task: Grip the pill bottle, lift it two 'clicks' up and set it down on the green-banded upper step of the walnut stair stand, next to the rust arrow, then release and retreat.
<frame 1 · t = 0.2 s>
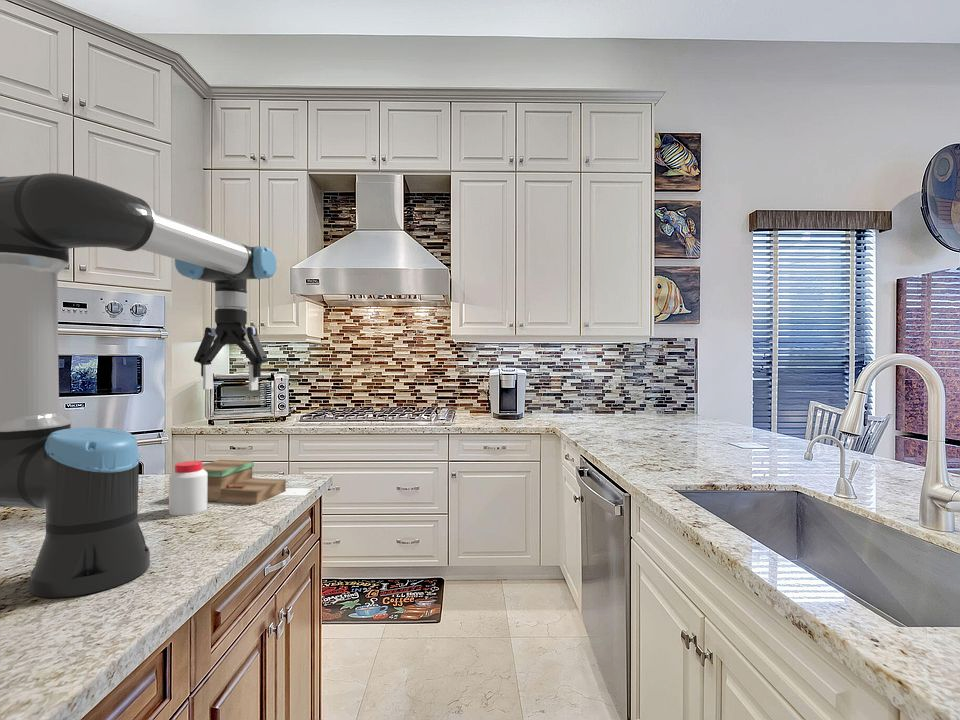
hand: (230, 389, 129), 27 cm above the countertop, fingers open, 13 cm apart
stand: (237, 494, 127), on the countertop
pill bottle: (188, 511, 114), on the countertop
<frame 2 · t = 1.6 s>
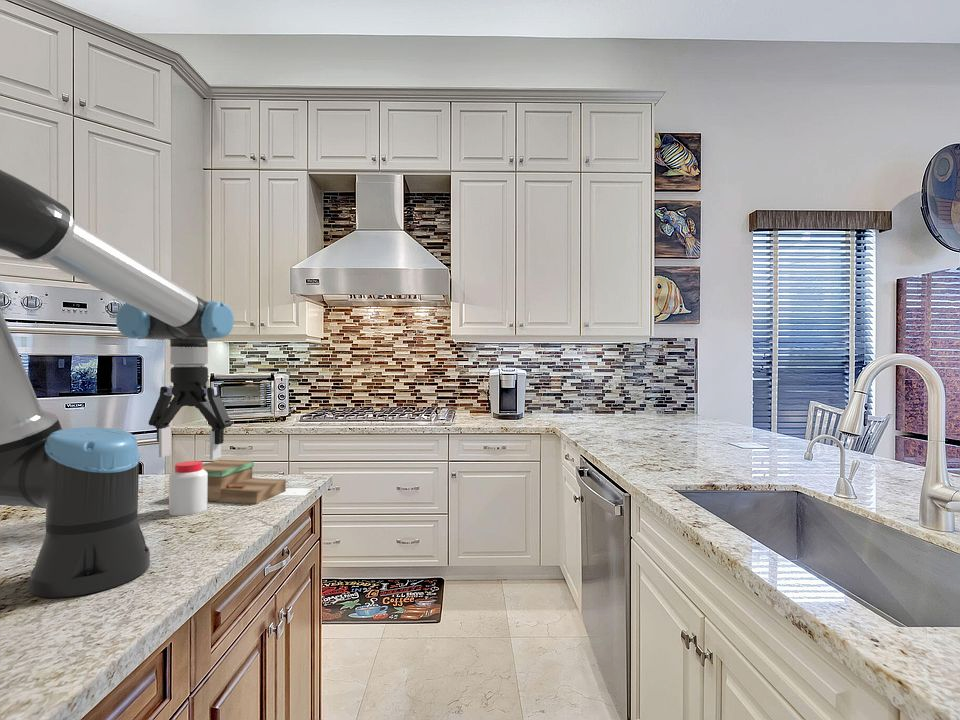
hand: (190, 457, 114), 12 cm above the countertop, fingers open, 13 cm apart
nothing on the countertop moved.
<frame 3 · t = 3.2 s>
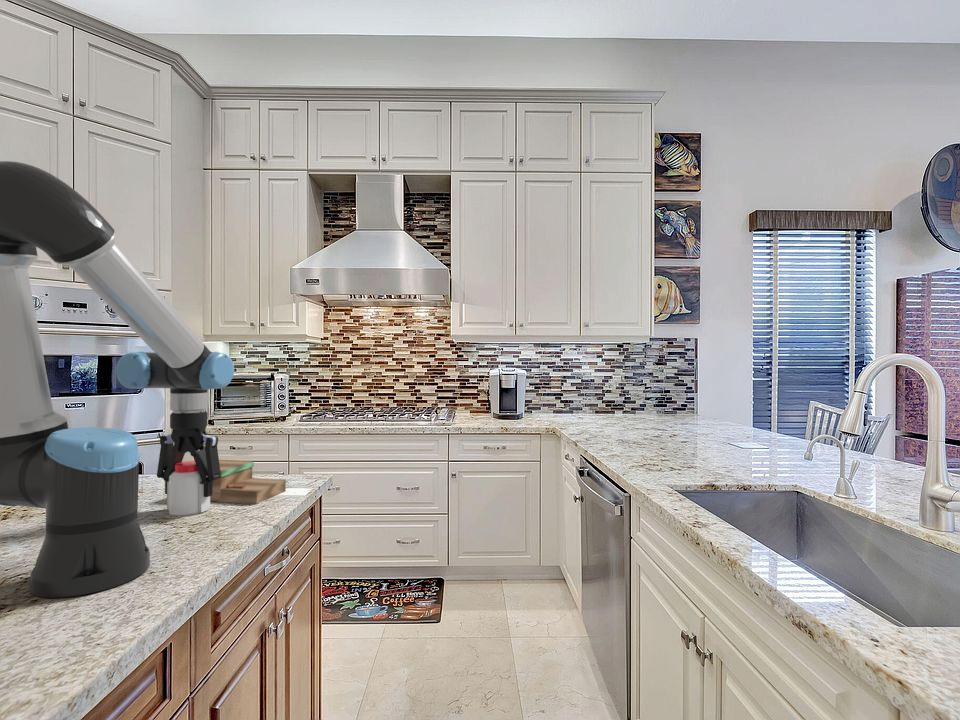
hand: (188, 509, 114), 0 cm above the countertop, fingers closed on pill bottle, 8 cm apart
pill bottle: (188, 511, 114), on the countertop, touching gripper
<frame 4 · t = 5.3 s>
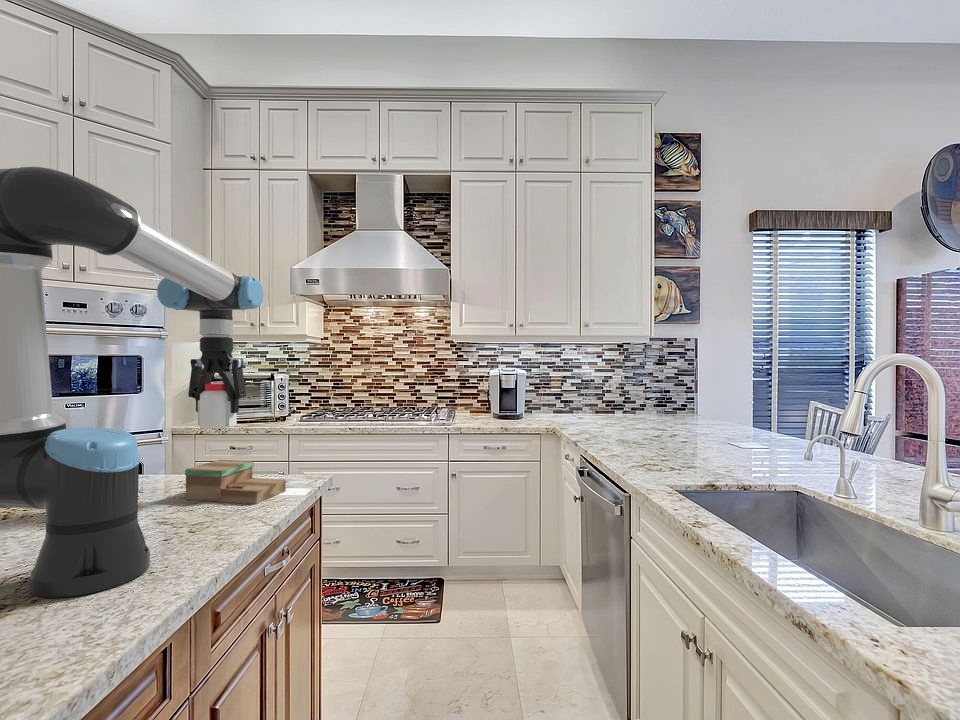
hand: (217, 425, 126), 18 cm above the countertop, fingers closed on pill bottle, 8 cm apart
pill bottle: (217, 427, 126), point 18 cm above the countertop, touching gripper
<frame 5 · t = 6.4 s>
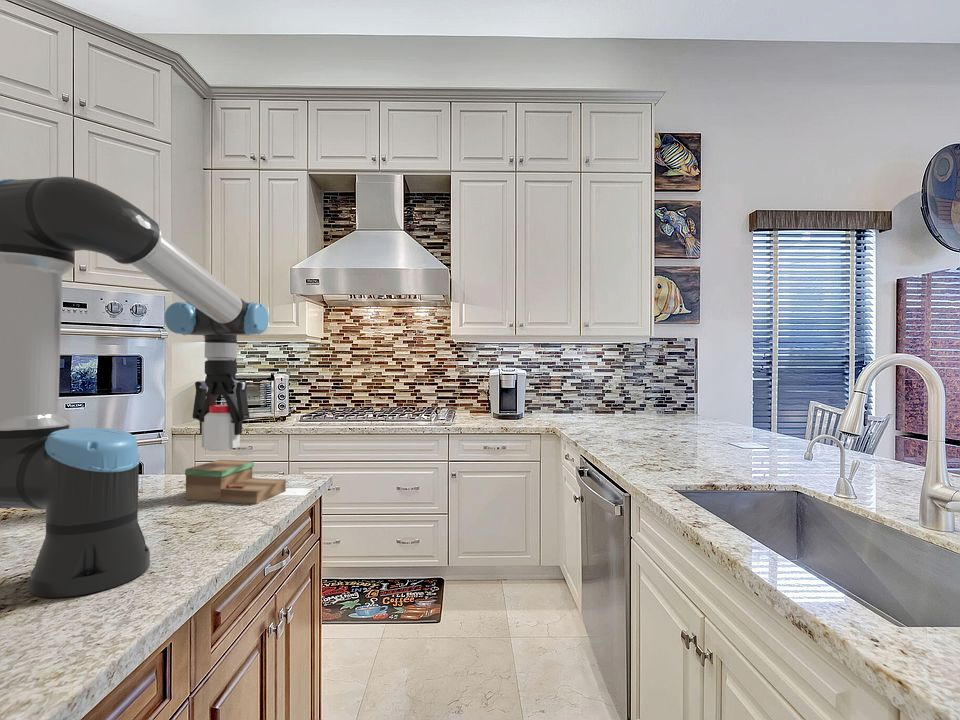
hand: (220, 446, 128), 12 cm above the countertop, fingers closed on pill bottle, 8 cm apart
pill bottle: (220, 448, 128), point 12 cm above the countertop, touching gripper
when the fingers open (10 cm above the countertop, at t = 7.3 s): pill bottle drops 2 cm, resting on stand.
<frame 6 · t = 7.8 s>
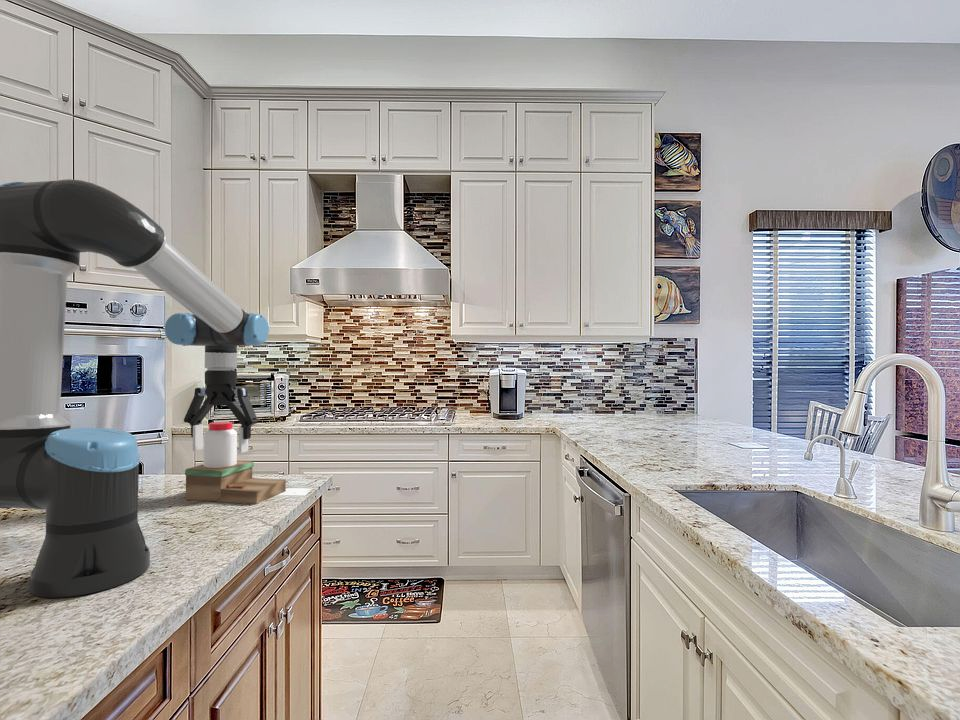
hand: (220, 450, 128), 11 cm above the countertop, fingers open, 13 cm apart
pill bottle: (220, 465, 128), point 7 cm above the countertop, touching stand
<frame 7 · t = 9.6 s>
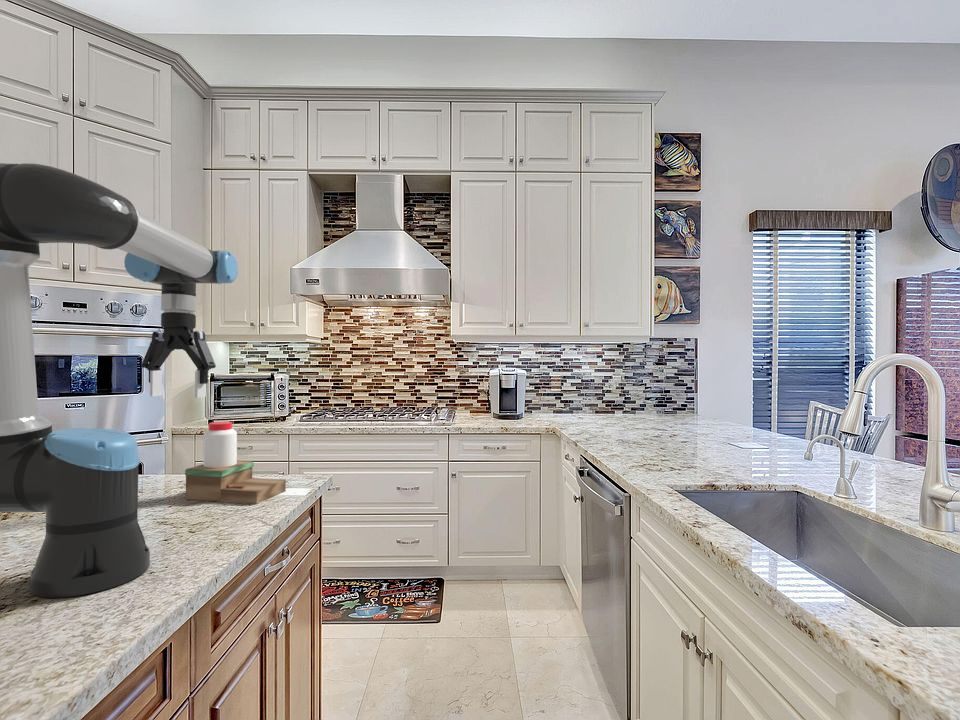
hand: (177, 396, 124), 26 cm above the countertop, fingers open, 13 cm apart
nothing on the countertop moved.
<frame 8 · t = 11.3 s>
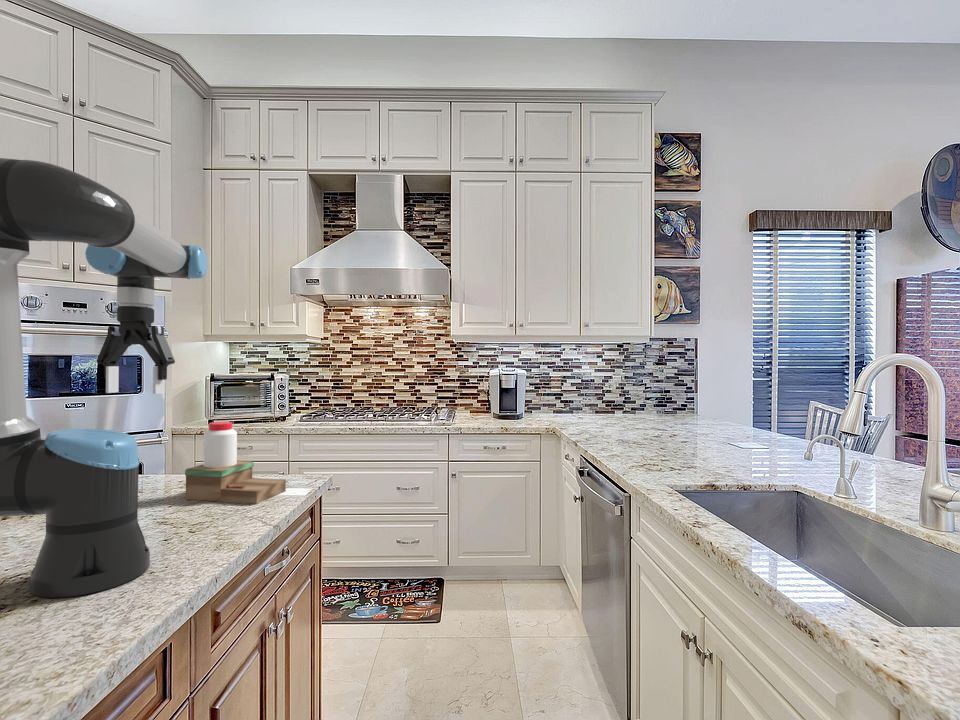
hand: (135, 393, 120), 27 cm above the countertop, fingers open, 13 cm apart
nothing on the countertop moved.
at the end: pill bottle inside the target area on the stand (0.2 cm from its centre), point 7.3 cm above the stand's base; pill bottle tilted 0°; the gripper is holding nothing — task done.
